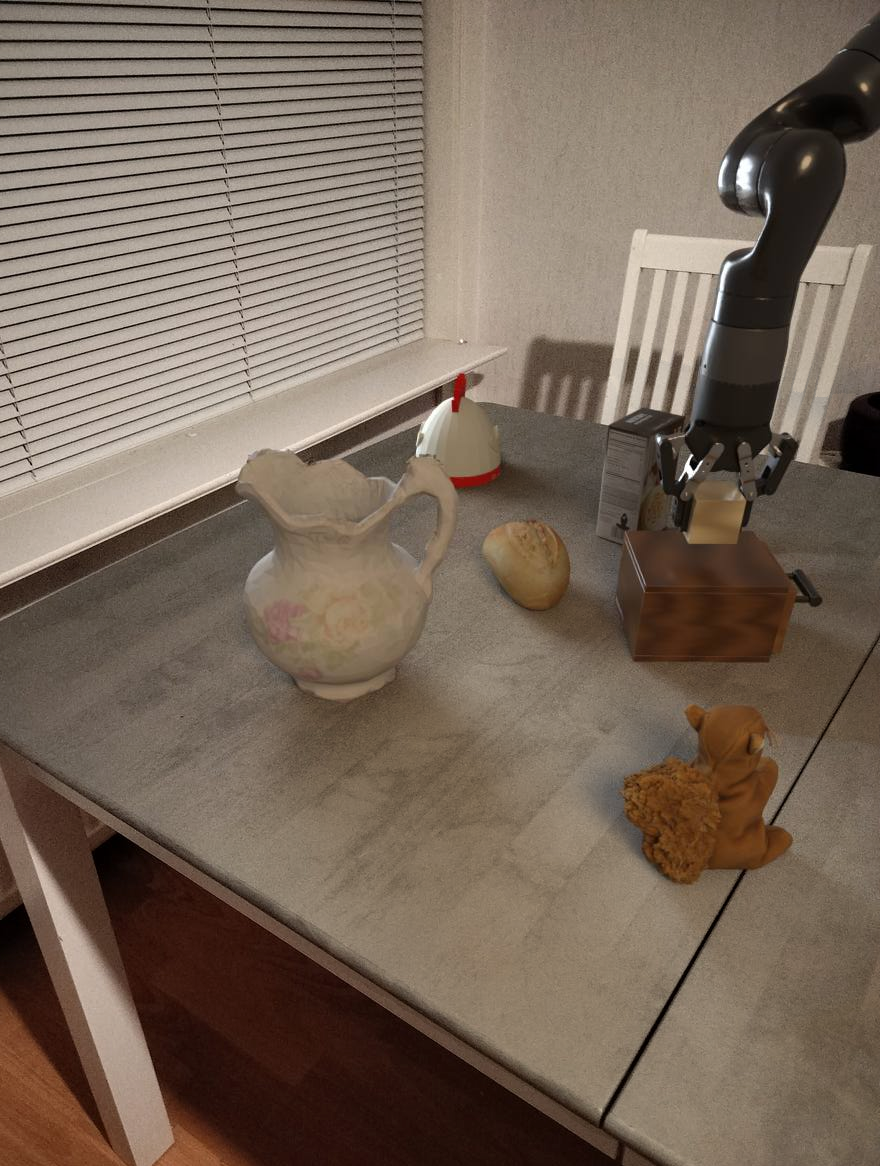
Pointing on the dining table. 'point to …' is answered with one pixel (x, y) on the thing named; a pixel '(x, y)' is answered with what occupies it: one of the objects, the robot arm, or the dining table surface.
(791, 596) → the drawer
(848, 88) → the robot arm
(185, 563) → the dining table surface
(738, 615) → the cabinet
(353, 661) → the ceramic pitcher
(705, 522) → the block
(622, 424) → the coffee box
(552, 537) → the bread roll
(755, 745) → the stuffed squirrel
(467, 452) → the white chicken egg cooker
